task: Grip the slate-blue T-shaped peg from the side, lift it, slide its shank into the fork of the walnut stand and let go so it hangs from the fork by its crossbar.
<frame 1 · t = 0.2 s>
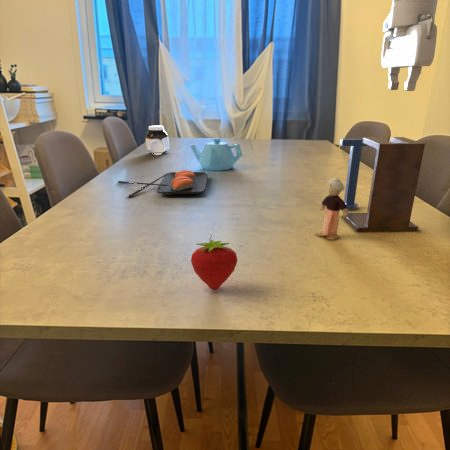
hand: (400, 90, 98), 29 cm above the table, tool pointing down, fingers open, 8 cm apart
spread jar: (158, 154, 199), on the table
stand: (377, 223, 104), on the table
strawberry: (214, 290, 72), on the table
teapot: (216, 168, 168), on the table
peg: (348, 208, 116), on the table
grandmother figurine: (329, 238, 95), on the table
sushi plate: (160, 187, 139), on the table
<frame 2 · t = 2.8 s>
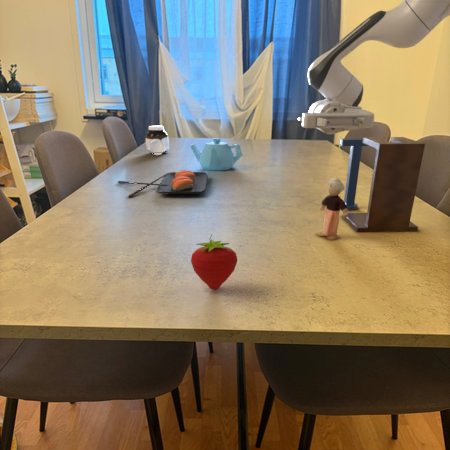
hand: (344, 122, 117), 20 cm above the table, tool horizontal, fingers open, 8 cm apart
nothing on the table moved.
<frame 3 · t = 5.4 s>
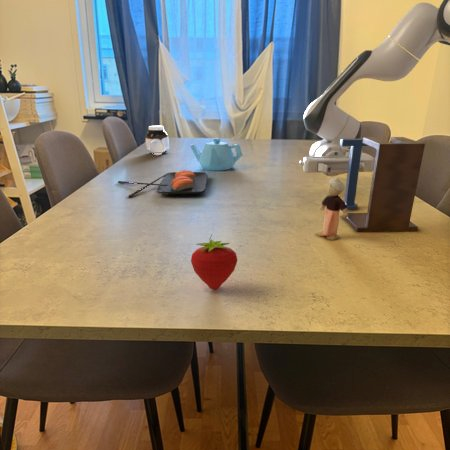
hand: (345, 169, 118), 9 cm above the table, tool horizontal, fingers open, 8 cm apart
nothing on the table moved.
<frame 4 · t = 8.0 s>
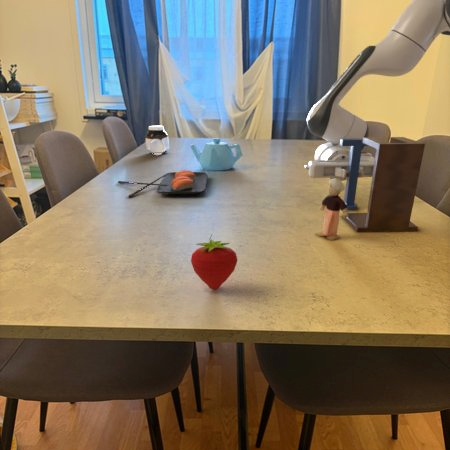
hand: (353, 174, 111), 9 cm above the table, tool horizontal, fingers closed on peg, 2 cm apart
peg: (348, 208, 116), on the table, touching gripper
everything else where it was.
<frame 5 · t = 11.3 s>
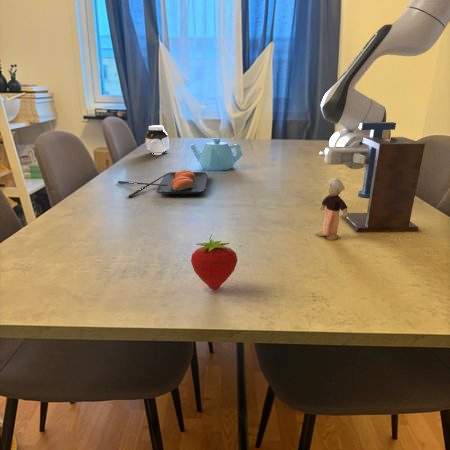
hand: (373, 160, 105), 13 cm above the table, tool horizontal, fingers closed on peg, 2 cm apart
peg: (367, 196, 110), point 4 cm above the table, touching gripper
everything else where it was.
when the fingers open (12 cm above the table, at t = 14.6 s): peg stays where it is, resting on stand.
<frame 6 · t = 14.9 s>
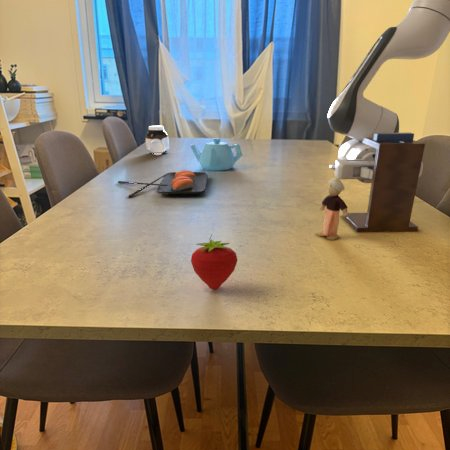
hand: (389, 175, 97), 12 cm above the table, tool horizontal, fingers open, 5 cm apart
peg: (381, 212, 101), point 3 cm above the table, touching stand
everything else where it was.
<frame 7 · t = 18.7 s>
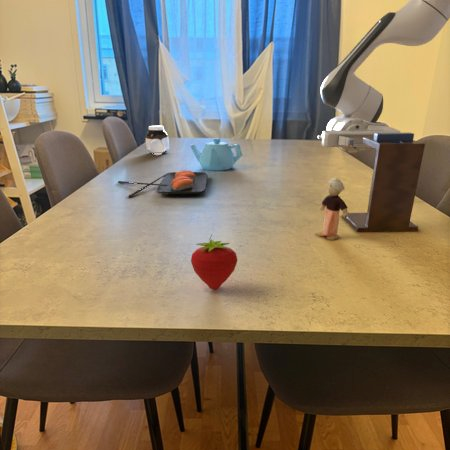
hand: (369, 142, 108), 17 cm above the table, tool horizontal, fingers open, 8 cm apart
nothing on the table moved.
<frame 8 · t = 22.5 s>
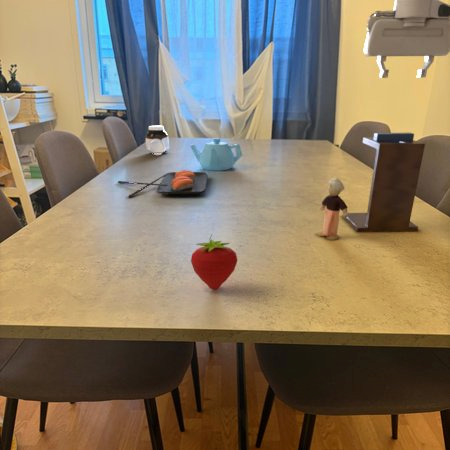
hand: (402, 77, 106), 31 cm above the table, tool pointing down, fingers open, 8 cm apart
nothing on the table moved.
at the end: peg 0.5 cm off-centre on the stand, point 3.0 cm above the stand's base; peg touching stand; peg tilted 0° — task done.
